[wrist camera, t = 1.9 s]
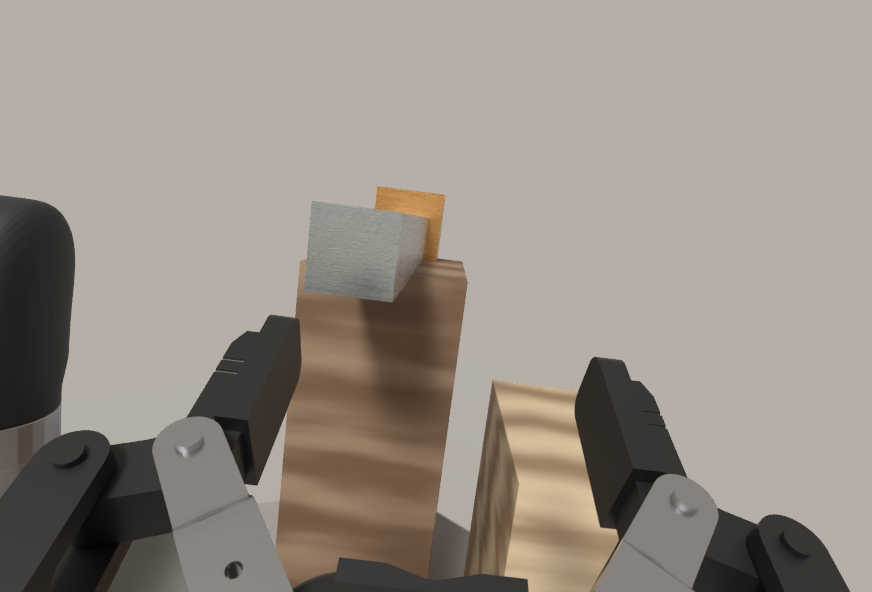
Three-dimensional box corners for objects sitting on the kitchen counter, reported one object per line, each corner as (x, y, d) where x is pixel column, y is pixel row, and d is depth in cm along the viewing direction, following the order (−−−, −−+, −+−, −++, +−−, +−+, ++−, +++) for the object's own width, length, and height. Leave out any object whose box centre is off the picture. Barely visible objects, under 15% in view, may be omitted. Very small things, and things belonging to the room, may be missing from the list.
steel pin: (417, 305, 20) (435, 162, 19) (279, 287, 20) (290, 144, 19) (437, 258, 45) (445, 197, 44) (377, 250, 45) (384, 189, 44)
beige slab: (596, 839, 30) (667, 503, 27) (464, 820, 30) (519, 483, 27) (543, 609, 48) (581, 391, 45) (460, 598, 48) (492, 379, 45)
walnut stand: (404, 742, 34) (467, 282, 29) (260, 722, 34) (300, 261, 30) (420, 577, 50) (462, 261, 45) (321, 564, 50) (353, 247, 45)
